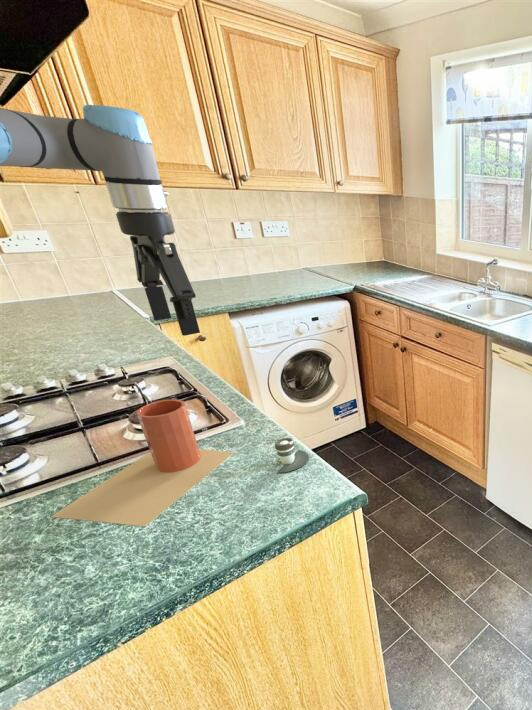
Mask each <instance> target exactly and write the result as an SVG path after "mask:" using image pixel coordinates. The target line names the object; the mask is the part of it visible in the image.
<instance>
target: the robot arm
mask: <svg viewBox="0 0 532 710" xmlns="http://www.w3.org/2000/svg"><path fill="white" fill-rule="evenodd" d="M82 113H83V115H82V117H83V118H68V117H59V116H51V115H42V114H35V113H30V112H25V111H18V110H13V109H7V108H3V107H0V167H15V168H16V167H18V168H30V169H31V168H32V169H33V168H34V169H42V170H43V169H45V170H75V171H93V172H101V173H102V176H103V178H104V181H105V187H106V189H107V193H108V195H109V199H110V203H111V205H112V207H113V208H115V209H118V211H117V212H116V213H115V216H116V220H117V222H118V226H119V229H120V232H121V233H122V234H124V235H127V236H129V240H130V242H131V246H132V251H133V258H134V264H135V265H134V266H135V271H136V280H137V282H139V283H141V285H142V287H143V288H144V291H145V295H146V298H147V301H148V304H149V307H150V311H151V315H152V317H153V321H162V320H169V319H172V315H171V312H170V311H171V310H170V308H169V305H168V301H167V298H166V294H165V292H164V288H163V286H164V285H166V287H167V289H168V291H169V292H170V294H171V297H169V302H170V303H172V305H173V308H174V312H175V315H176V319H177V323H178V325H179V326H178V327H179V330H180V333H181V336H183V337H184V336H191V335H196V334H200V333H201V331H200V328H199V327H200V326H199V323H198V320H197V316H196V312H195V308H194V304H193V301H192V300H193V299H194V298H195V299H196V293H195V291H194V288H193V286H192V284H191V282H190V279H189V277H188V275H187V273H186V270H185V268H184V265H183V263H182V261H181V259H180V256H179V254H178V251H177V246H176V244H175V243H174V242H167V240H166V239H165V236H170V235H174V233H175V232H176V231H175V226H174V223H173V222H174V221H173V219H172V215H171V214H170V213H169V211H166V210H167V209H168V208H169V206H168V201H167V198H166V197H168V196H169V193H168V191H167V190H164V186H163V183H162V180H161V176H160V171H159V168H158V163H157V160H156V155H155V152H154V147H153V145H154V143H153V141H152V139H151V138H150V134H149V130H148V128H147V124H146V122H145V120H144V117H143V116H142V115H141V114H140V113H139V112H137V111H136V110H133V109H129V108H124V107H117V106H111V105H104V104H103V105H102V104H84V105H83V107H82ZM160 277H161V278H162V279H160ZM162 280H163V281H162ZM164 283H165V284H164Z"/></svg>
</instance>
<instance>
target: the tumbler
mask: <svg viewBox="0 0 532 710" xmlns="http://www.w3.org/2000/svg"><path fill="white" fill-rule="evenodd" d="M188 412H189V411H188V408H187V405H186V403H185V401H184V400H181V399H175V398H172V399H162V400H158V401H153V402H149V403H147V404H145V405H144V406H141V407H140V408H138V409H137V410H136V416H137V420H138V422H139V425H140V427H141V430H142V434H143V436H144V439H145V441H146V443H147V447H148V449H149V452H151V455H152V458H153V460H154V463H155V466H156V468H157V469H158V470H159V471H161V472H176V471H180V470H184V469H186V468H189V467H191V466H193V465H194V464H196V463H197V462H198V461H199V460H200V458H201V454H200V451H199V449H200V448H199V445H198V442H197V438H196V434H195V432H194V429H193V425H192V422H191V418H190V416H189V413H188Z"/></svg>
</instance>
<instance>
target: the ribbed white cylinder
mask: <svg viewBox="0 0 532 710" xmlns="http://www.w3.org/2000/svg"><path fill="white" fill-rule="evenodd" d="M274 449H275V450H276V453H277V455H278V459H279V460H280V462H281V464H283V465H282V467H281V468H280V469H278V470H277V472H276V473H278V474H285V473H290V472H294V471H296V470H299V469H300V468H302V467H303V466H305V465H306V464H307V463H308V461H309V459H310V455H309V454H308V453H307V452H306V451H304V450H300V449H298V450H297V451H295V442H294V440H293V439H292V438H291V437H283V438H280V439H278V440H276V441H275V443H274Z"/></svg>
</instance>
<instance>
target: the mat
mask: <svg viewBox="0 0 532 710" xmlns="http://www.w3.org/2000/svg"><path fill="white" fill-rule="evenodd" d="M199 451H200V454H201V458H200V460H199V461H198V462H197V463H196V464H194V465H193V466H191V467H189V468H186V469H184V470H180V471H176V472H161V471H159V470H158V469H157V468H156V466H155V463H154V460H153V458H152V455H151V452H150V451H149V452H147V453H146V454H144V455H143V456H142V457H140V458H138V459H137V460H134V462H131V464H129V465H128V466H125V468H123V469H121V470H120V471H119V472H117V473H115V474H113V475H112V476H110V477H109V478H108V479H106V480H104V481H103V482H101V483H100V484H98V485H97V486H96V487H95V486H94V488H92V489H91V490H89V491H87V492H86V493H84V494H83V495H81V496H80V497H79V498H77V499H75V500H74V501H72V502H71V503H69V504H68V505H66V506H65V507H63V508H61V509H60V510H58V511H57V512H56V513H54V514H53V515H51V516H50V518H58V519H68V520H76V521H85V522H86V521H87V522H96V523H97V522H98V523H104V524H106V523H107V524H114V525H115V524H116V525H123V526H125V525H126V526H134V527H146V526H148V525H149V524H150V523H152V521H154V520H155V519H156V518H157V517H159V516H160V515H161V514H162V513H163V512H165V511H166V510H167V509H168V508H170V507H171V506H172V505H173V504H174V503H176V502H177V501H178V500H179V499H180V498H181V497H183V496H184V495H185V494H187V492H189V491H190V490H191V489H192V488H193V487H195V486H196V485H197V484H198V483H200V481H202V480H203V479H204V478H206V477H207V476H208V475H210V473H211V472H213V471H214V470H215V469H217V468H218V467H219V466H220V465H221V464H222V463H223V462H225V461H226V460H227V459H229V458H230V457H231V456H232V455H234V454H235V452H233V451H222V450H211V449H201V448H199Z"/></svg>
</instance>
